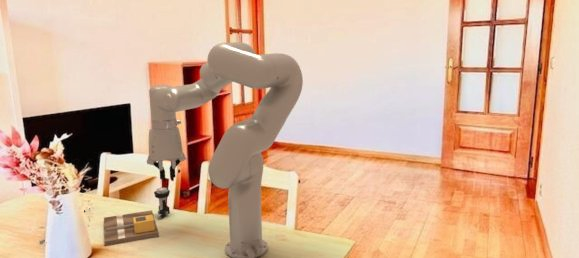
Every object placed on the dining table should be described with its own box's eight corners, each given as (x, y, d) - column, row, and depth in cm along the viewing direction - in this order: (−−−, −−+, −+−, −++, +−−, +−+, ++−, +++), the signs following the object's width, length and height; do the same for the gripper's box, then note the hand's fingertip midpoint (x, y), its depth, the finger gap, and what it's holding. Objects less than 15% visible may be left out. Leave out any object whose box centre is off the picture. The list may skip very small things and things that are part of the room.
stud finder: (154, 230, 140) (153, 219, 139) (135, 233, 138) (134, 222, 137) (153, 224, 145) (152, 214, 144) (133, 227, 142) (133, 217, 142)
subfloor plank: (158, 236, 139) (158, 229, 139) (104, 246, 133) (104, 238, 133) (152, 214, 157) (151, 207, 157) (104, 221, 151) (103, 214, 151)
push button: (165, 220, 152) (163, 193, 150) (151, 219, 153) (149, 192, 151) (173, 213, 158) (172, 187, 156) (160, 212, 159) (158, 186, 157)
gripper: (187, 120, 144) (190, 174, 148) (136, 124, 138) (141, 180, 142) (191, 124, 137) (194, 180, 141) (138, 129, 131) (143, 187, 135)
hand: (167, 179), depth 141 cm, fingers closed
